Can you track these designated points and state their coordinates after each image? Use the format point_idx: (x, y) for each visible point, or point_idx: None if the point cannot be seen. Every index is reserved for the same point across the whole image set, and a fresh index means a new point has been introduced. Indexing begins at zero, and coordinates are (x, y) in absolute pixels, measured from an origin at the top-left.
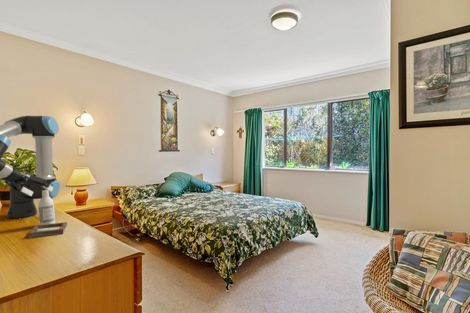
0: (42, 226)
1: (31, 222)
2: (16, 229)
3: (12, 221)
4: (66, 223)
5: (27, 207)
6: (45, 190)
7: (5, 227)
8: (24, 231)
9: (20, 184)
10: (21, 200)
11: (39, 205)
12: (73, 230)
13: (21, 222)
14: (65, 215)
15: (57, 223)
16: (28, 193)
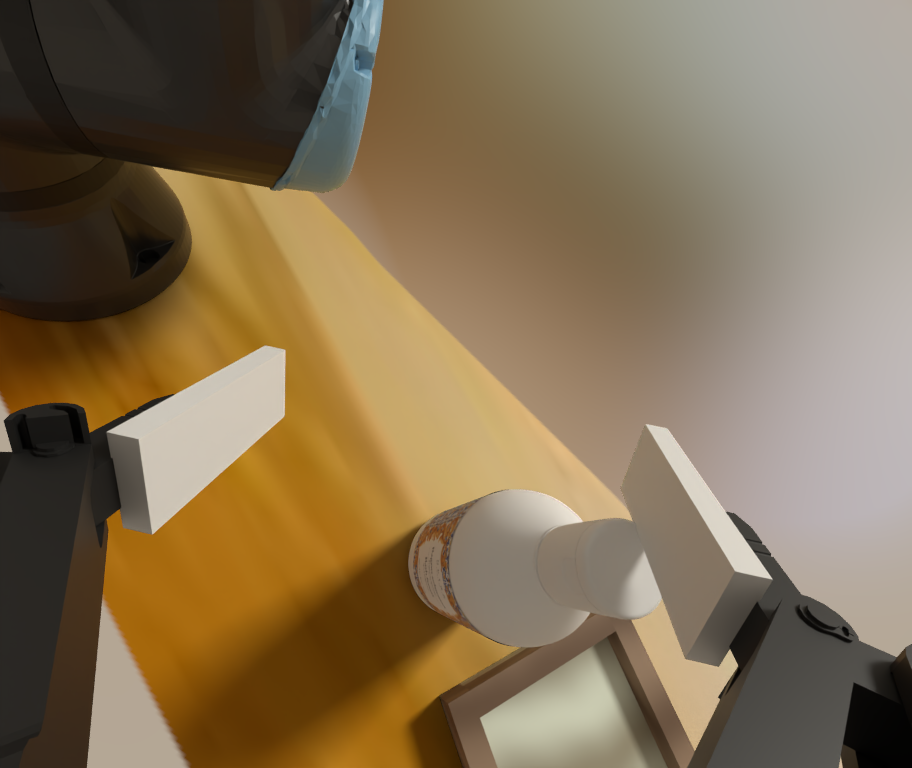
0: (501, 701)
1: (276, 464)
2: (260, 675)
3: None
4: (632, 627)
5: (119, 232)
6: (633, 571)
7: (113, 601)
8: (369, 743)
9: (75, 565)
10: (23, 179)
11: (493, 638)
12: (710, 715)
13: None
14: (428, 318)
15: (578, 636)
16: (250, 432)
